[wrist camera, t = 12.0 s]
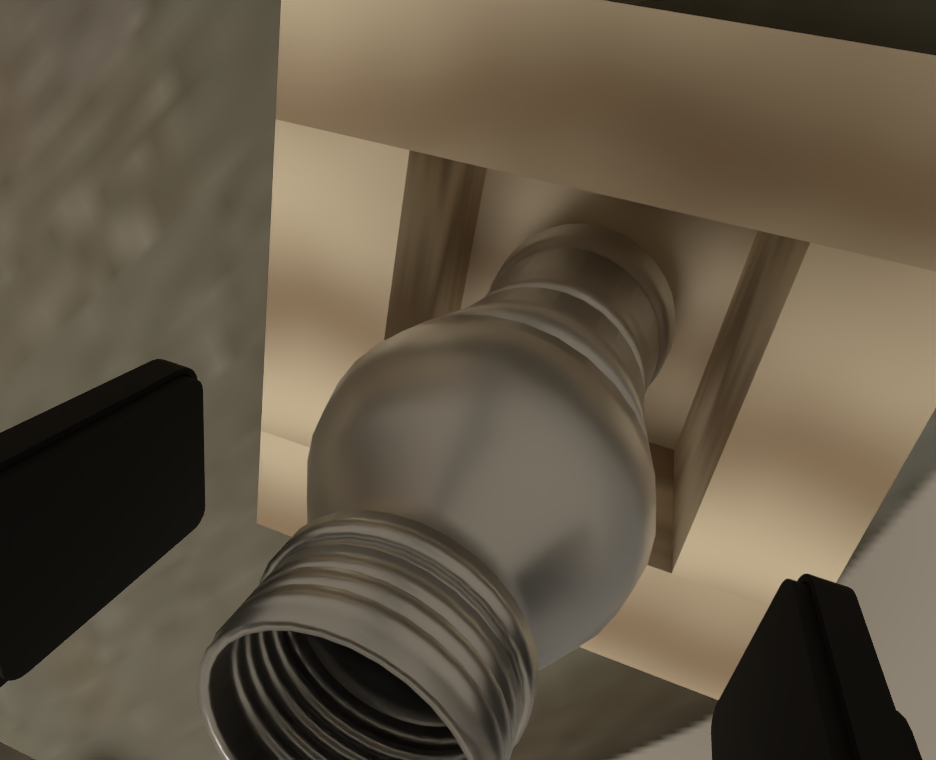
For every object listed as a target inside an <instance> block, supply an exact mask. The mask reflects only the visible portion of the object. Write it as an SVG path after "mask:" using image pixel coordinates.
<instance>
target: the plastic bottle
mask: <svg viewBox="0 0 936 760" xmlns="http://www.w3.org/2000/svg"><path fill="white" fill-rule="evenodd" d="M675 317H676V312H675V307H674V301H673V296H672V292H671V290H670V288H669V285H668V283H667V280H666V278H665V276H664V274H663V273H662V271H661V270H660V268H659V267H658V265H657V264H656V262H655V261H654V259H653V258H652V257H651V256H650V255H649V254H648V253H647V252H646V251H645V250H644V249H643V248H642V247H641V246H640V245H639V244H637V243H636V242H634V241H633V240H631V239H630V238H628V237H627V236H625V235H624V234H621V233H619V232H616V231H614V230H611V229H609V228H606V227H601V226H596V225H590V224H564V225H560V226H556V227H551V228H548V229H545V230H543V231H541V232H539V233H537V234H535V235H532V236H531V237H530V238H528V239H527V240H526V241H524V242H523V243H522V244H520V245H519V246H518V247H517V248H516V249H515V250H514V251H513V252H512V253H511V255H510V256H509V257H508V258H507V259H506V260H505V262H504V264H503V265H502V267H501V269H500V270H499V272H498V274H497V276H496V277H495V279H494V281H493V283H492V285H491V287H490V290H489V292H488V294H487V295H486V296H485V297H484V298H483V299H481V300H479V301H477V302H476V303H474V304H473V305H471V306H469V307H468V308H465V309H462V310H458V311H455V312H452V313H449V314H446V315H443V316H440V317H437V318H434V319H432V320H427V321H425V322H422V323H420V324H418V325H416V326H413V327H411V328H409V329H406V330H404V331H402V332H400V333H398V334H396V335H394V336H392V337H391V338H389V339H387V340H384V341H382V342H380V343H379V344H377V345H376V346H375V347H373V348H372V349H371V350H369V351H368V352H367V353H365V354H364V355H363V356H361V357H360V358H359V359H357V360H356V361H355V362H354V363H353V365H352V366H351V367H350V368H349V370H348V371H347V372H346V373H345V375H344V376H343V377H342V378H341V380H340V381H339V382H338V384H337V386H336V388H335V390H334V392H333V394H332V396H331V397H330V399H329V401H328V403H327V405H326V407H325V409H324V411H323V413H322V416H321V418H320V420H319V422H318V424H317V426H316V429H315V431H314V433H313V435H312V440H311V445H310V450H309V455H308V460H307V524H306V525H305V526H303V527H301V528H300V529H299V530H298V531H297V532H296V533H295V534H294V535H293V537H292V538H291V539H290V540H289V541H288V542H287V543H286V544H285V545H284V546H283V547H282V549H281V550H280V551H279V552H278V553H277V554H276V555H275V556H274V557H273V558H272V560H271V561H270V562H269V563H268V565H267V567H266V569H265V572H264V574H263V576H262V578H261V580H260V585H259V586H258V587H257V588H256V589H255V590H254V592H253V593H252V594H251V595H250V596H249V597H248V598H247V599H246V601H245V602H244V603H243V604H242V605H241V606H240V607H239V608H238V609H237V610H236V612H235V613H234V614H233V615H232V616H231V617H230V618H229V619H228V621H227V622H226V623H225V624H224V625H223V626H222V627H221V628H220V629H219V630H218V631H217V633H216V635H215V637H214V639H213V641H212V643H211V645H210V646H209V647H208V648H207V649H206V651H205V654H204V656H203V658H202V660H201V662H200V665H199V669H198V677H197V685H196V686H197V694H198V703H199V709H200V712H201V715H202V718H203V721H204V724H205V727H206V730H207V732H208V734H209V736H210V738H211V740H212V742H213V744H214V746H215V748H216V750H217V751H218V753H219V755H220V756H221V757H222V759H223V760H510V757H511V753H512V749H513V747H514V746H515V745H516V744H517V743H518V742H519V740H520V738H521V736H522V734H523V733H524V731H525V729H526V727H527V725H528V722H529V718H530V714H531V710H532V706H533V702H534V698H535V693H536V688H537V683H538V677H539V670H540V669H543V668H545V667H546V666H548V665H550V664H551V663H553V662H555V661H556V660H558V659H560V658H561V657H563V656H565V655H566V654H568V653H570V652H571V651H573V650H574V649H576V648H578V647H579V646H581V645H582V644H584V643H586V642H587V641H589V640H590V639H592V638H593V637H595V636H597V635H598V634H599V633H600V632H601V631H602V630H603V629H604V627H605V626H606V625H607V624H608V623H609V622H610V621H611V620H612V619H613V618H614V617H615V616H616V615H617V613H618V612H619V610H620V609H621V607H622V606H623V604H624V603H625V601H626V600H627V598H628V597H629V595H630V594H631V592H632V591H633V589H634V588H635V586H636V584H637V582H638V580H639V579H640V577H641V575H642V573H643V571H644V570H645V568H646V566H647V564H648V561H649V558H650V554H651V550H652V546H653V542H654V538H655V534H656V491H655V472H654V467H653V463H652V458H651V452H650V447H649V442H648V436H647V431H646V426H645V420H644V399H645V393H646V391H647V389H648V387H649V386H650V385H651V383H652V382H653V381H654V379H655V378H656V377H657V376H658V374H659V372H660V370H661V368H662V367H663V365H664V363H665V360H666V358H667V356H668V354H669V352H670V350H671V347H672V342H673V338H674V334H675Z"/></svg>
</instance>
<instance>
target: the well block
mask: <svg viewBox="0 0 936 760" xmlns="http://www.w3.org/2000/svg"><path fill="white" fill-rule="evenodd" d="M564 224H590V225H596V226H601V227H606V228H609V229H611V230H614V231H616V232H619V233H621V234H624V235H625V236H627V237H628V238H630V239H631V240H633V241H634V242H636V243H637V244H639V245H640V246H641V247H642V248H643V249H644V250H645V251H646V252H647V253H648V254H649V255H650V256H651V257H652V258H653V259H654V261H655V262H656V264H657V265H658V267H659V268H660V270H661V271H662V273H663V274H664V276H665V278H666V280H667V283H668V285H669V288H670V290H671V292H672V296H673V301H674V307H675V312H676V317H675V334H674V338H673V342H672V347H671V350H670V352H669V354H668V356H667V358H666V360H665V363H664V365H663V367H662V368H661V370H660V372H659V374H658V376H657V377H656V378H655V379H654V381H653V382H652V383H651V385H650V386H649V387H648V389H647V391H646V393H645V399H644V420H645V426H646V431H647V436H648V442H649V447H650V452H651V458H652V463H653V467H654V472H655V491H656V534H655V538H654V542H653V546H652V550H651V554H650V558H649V561H648V564H647V566H646V568H645V570H644V571H643V573H642V575H641V577H640V579H639V580H638V582H637V584H636V586H635V588H634V589H633V591H632V592H631V594H630V595H629V597H628V598H627V600H626V601H625V603H624V604H623V606H622V607H621V609H620V610H619V612H618V613H617V615H616V616H615V617H614V618H613V619H612V620H611V621H610V622H609V623H608V624H607V625H606V626H605V627H604V629H603V630H602V631H601V632H600V633H599V634H598V635H597V636H595V637H593V638H592V639H590V640H589V641H587V642H586V643H584V644H582V645H581V646H579V647H581V648H584V649H586V650H589V651H592V652H594V653H597V654H599V655H602V656H605V657H607V658H610V659H612V660H615V661H618V662H620V663H623V664H625V665H628V666H631V667H633V668H636V669H639V670H641V671H644V672H646V673H649V674H652V675H654V676H657V677H659V678H662V679H665V680H667V681H670V682H672V683H675V684H678V685H680V686H683V687H686V688H688V689H691V690H693V691H696V692H699V693H701V694H704V695H706V696H709V697H712V698H714V699H717V700H719V698H720V697H721V695H722V693H723V691H724V689H725V687H726V685H727V684H728V682H729V680H730V678H731V676H732V674H733V672H734V671H735V669H736V667H737V665H738V663H739V661H740V659H741V658H742V656H743V654H744V652H745V650H746V648H747V646H748V645H749V643H750V641H751V639H752V637H753V635H754V633H755V632H756V630H757V628H758V626H759V624H760V622H761V620H762V619H763V617H764V615H765V613H766V611H767V609H768V607H769V606H770V604H771V602H772V600H773V598H774V596H775V594H776V593H777V591H778V589H779V587H780V585H781V584H782V582H783V581H784V580H785V579H792V580H795V581H797V580H798V579H799V577H801V576H802V575H803V574H810V575H813V576H816V577H819V578H822V579H825V580H828V581H831V582H834V583H836V582H837V580H838V578H839V576H840V575H841V573H842V571H843V569H844V568H845V566H846V564H847V562H848V561H849V559H850V557H851V555H852V554H853V552H854V550H855V548H856V547H857V545H858V543H859V541H860V540H861V538H862V536H863V534H864V533H865V531H866V529H867V527H868V526H869V524H870V522H871V520H872V519H873V517H874V515H875V513H876V512H877V510H878V508H879V506H880V505H881V503H882V501H883V499H884V498H885V496H886V494H887V492H888V491H889V489H890V487H891V485H892V483H893V482H894V480H895V478H896V476H897V475H898V473H899V471H900V469H901V468H902V466H903V464H904V462H905V461H906V459H907V457H908V455H909V454H910V452H911V450H912V448H913V447H914V445H915V443H916V441H917V440H918V438H919V436H920V434H921V433H922V431H923V429H924V427H925V426H926V424H927V422H928V420H929V419H930V417H931V415H932V413H933V412H934V410H935V408H936V55H930V54H924V53H918V52H912V51H906V50H900V49H894V48H887V47H881V46H875V45H869V44H863V43H857V42H851V41H845V40H839V39H833V38H827V37H821V36H815V35H809V34H803V33H797V32H791V31H785V30H779V29H773V28H767V27H761V26H755V25H749V24H743V23H737V22H731V21H725V20H719V19H713V18H707V17H701V16H695V15H689V14H683V13H677V12H671V11H665V10H659V9H653V8H647V7H641V6H635V5H629V4H623V3H617V2H611V1H605V0H281V18H280V39H279V60H278V82H277V103H276V124H275V146H274V167H273V188H272V210H271V231H270V252H269V274H268V295H267V316H266V337H265V359H264V380H263V401H262V423H261V444H260V465H259V487H258V508H257V524H260V525H263V526H265V527H268V528H270V529H273V530H276V531H278V532H281V533H283V534H286V535H289V536H291V537H293V535H294V534H295V533H296V532H297V531H298V530H299V529H300V528H301V527H303V526H305V525H306V524H307V460H308V455H309V450H310V445H311V440H312V435H313V433H314V431H315V429H316V426H317V424H318V422H319V420H320V418H321V416H322V413H323V411H324V409H325V407H326V405H327V403H328V401H329V399H330V397H331V396H332V394H333V392H334V390H335V388H336V386H337V384H338V382H339V381H340V380H341V378H342V377H343V376H344V375H345V373H346V372H347V371H348V370H349V368H350V367H351V366H352V365H353V363H354V362H355V361H356V360H357V359H359V358H360V357H361V356H363V355H364V354H365V353H367V352H368V351H369V350H371V349H372V348H373V347H375V346H376V345H377V344H379V343H380V342H382V341H384V340H387V339H389V338H391V337H392V336H394V335H396V334H398V333H400V332H402V331H404V330H406V329H409V328H411V327H413V326H416V325H418V324H420V323H422V322H425V321H427V320H432V319H434V318H437V317H440V316H443V315H446V314H449V313H452V312H455V311H458V310H462V309H465V308H468V307H469V306H471V305H473V304H474V303H476V302H477V301H479V300H481V299H483V298H484V297H485V296H486V295H487V294H488V292H489V290H490V287H491V285H492V283H493V281H494V279H495V277H496V276H497V274H498V272H499V270H500V269H501V267H502V265H503V264H504V262H505V260H506V259H507V258H508V257H509V256H510V255H511V253H512V252H513V251H514V250H515V249H516V248H517V247H518V246H519V245H520V244H522V243H523V242H524V241H526V240H527V239H528V238H530V237H531V236H532V235H535V234H537V233H539V232H541V231H543V230H545V229H548V228H551V227H556V226H560V225H564Z"/></svg>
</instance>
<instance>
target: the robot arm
mask: <svg viewBox="0 0 936 760" xmlns="http://www.w3.org/2000/svg"><path fill="white" fill-rule="evenodd" d="M204 511H205V474H204V421H203V388H202V384H201V382H200V381H198V380H197V376H196V374H195V372H194V371H193V370H192V369H190V368H187V367H184V366H181V365H178V364H175V363H172V362H169V361H166V360H163V359H156V360H152V361H150V362H148V363H146V364H144V365H142V366H140V367H137V368H135V369H133V370H131V371H129V372H127V373H125V374H123V375H121V376H119V377H116V378H114V379H112V380H110V381H108V382H106V383H104V384H102V385H100V386H98V387H96V388H93V389H91V390H89V391H87V392H85V393H83V394H81V395H79V396H77V397H75V398H72V399H70V400H68V401H66V402H64V403H62V404H60V405H58V406H56V407H54V408H52V409H49V410H47V411H45V412H43V413H41V414H39V415H37V416H35V417H33V418H31V419H28V420H26V421H24V422H22V423H20V424H18V425H16V426H14V427H12V428H10V429H7V430H5V431H3V432H1V433H0V687H1V686H2V685H4V684H5V683H6V682H7V681H8V680H9V681H10V680H16V679H18V678H20V677H22V676H24V675H25V674H26V673H28V672H29V671H30V670H31V669H32V668H34V667H35V666H36V665H37V664H38V663H39V662H41V661H42V660H43V659H44V658H45V657H46V656H48V655H49V654H50V653H51V652H52V651H53V650H54V649H56V648H57V647H58V646H59V645H60V644H61V643H63V642H64V641H65V640H66V639H67V638H68V637H70V636H71V635H72V634H73V633H74V632H75V631H77V630H78V629H79V628H80V627H81V626H82V625H84V624H85V623H86V622H87V621H88V620H89V619H90V618H92V617H93V616H94V615H95V614H96V613H97V612H99V611H100V610H101V609H102V608H103V607H104V606H106V605H107V604H108V603H109V602H110V601H111V600H113V599H114V598H115V597H116V596H117V595H118V594H120V593H121V592H122V591H123V590H124V589H125V588H126V587H128V586H129V585H130V584H131V583H132V582H133V581H135V580H136V579H137V578H138V577H139V576H140V575H142V574H143V573H144V572H145V571H146V570H147V569H149V568H150V567H151V566H152V565H153V564H154V563H156V562H157V561H158V560H159V559H160V558H161V557H162V556H164V555H165V554H166V553H167V552H168V551H169V550H171V549H172V548H173V547H174V546H175V545H176V544H178V543H179V542H180V541H181V540H182V539H183V538H185V537H186V536H187V535H188V534H189V533H190V532H192V531H193V530H194V529H195V528H196V527H197V526H198V524H199V523H200V521H201V519H202V517H203V515H204ZM711 739H712V740H711V741H712V760H922V758H921V755H920V752H919V749H918V747H917V744H916V741H915V738H914V736H913V733H912V730H911V729H910V727H909V724H908V723H907V721H906V719H905V718H904V717H903V716H902V715H901V714H900V713H899V712H898V711H896V709H895V706H894V703H893V701H892V698H891V695H890V692H889V689H888V686H887V683H886V680H885V677H884V674H883V671H882V669H881V666H880V663H879V660H878V657H877V654H876V651H875V649H874V646H873V643H872V640H871V637H870V634H869V631H868V628H867V626H866V623H865V620H864V617H863V614H862V611H861V608H860V606H859V602H858V600H857V597H856V594H855V593H854V591H853V590H852V589H851V588H849V587H847V586H844V585H840V584H837V583H834V582H831V581H828V580H825V579H822V578H819V577H816V576H813V575H810V574H803V575H802V576H801V577H799V579H798V580H797V581H795V580H792V579H785V580H784V581H783V582H782V584H781V585H780V587H779V589H778V591H777V593H776V594H775V596H774V598H773V600H772V602H771V604H770V606H769V607H768V609H767V611H766V613H765V615H764V617H763V619H762V620H761V622H760V624H759V626H758V628H757V630H756V632H755V633H754V635H753V637H752V639H751V641H750V643H749V645H748V646H747V648H746V650H745V652H744V654H743V656H742V658H741V659H740V661H739V663H738V665H737V667H736V669H735V671H734V672H733V674H732V676H731V678H730V680H729V682H728V684H727V685H726V687H725V689H724V691H723V693H722V695H721V697H720V698H719V700H718V702H717V704H716V707H715V710H714V713H713V718H712V725H711ZM0 760H35V759H33V758H31V757H29V756H27V755H25V754H23V753H21V752H19V751H17V750H15V749H13V748H11V747H9V746H7V745H5V744H3V743H1V742H0Z"/></svg>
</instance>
